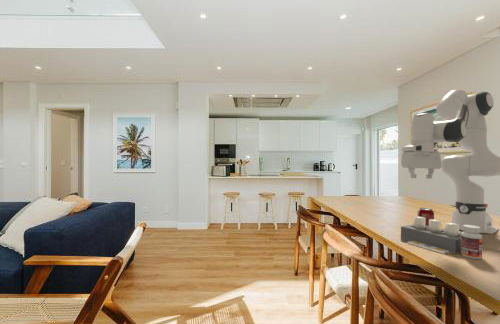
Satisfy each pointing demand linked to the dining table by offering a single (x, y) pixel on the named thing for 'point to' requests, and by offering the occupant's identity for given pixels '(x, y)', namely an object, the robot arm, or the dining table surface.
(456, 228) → the button
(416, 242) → the card
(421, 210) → the soda can
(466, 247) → the pill bottle
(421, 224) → the cream oval piece
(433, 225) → the cream white egg
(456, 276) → the dining table surface
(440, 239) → the grey egg tray
